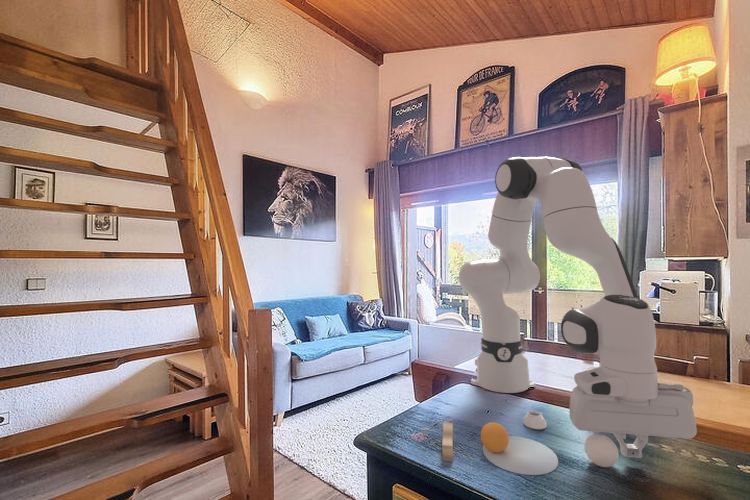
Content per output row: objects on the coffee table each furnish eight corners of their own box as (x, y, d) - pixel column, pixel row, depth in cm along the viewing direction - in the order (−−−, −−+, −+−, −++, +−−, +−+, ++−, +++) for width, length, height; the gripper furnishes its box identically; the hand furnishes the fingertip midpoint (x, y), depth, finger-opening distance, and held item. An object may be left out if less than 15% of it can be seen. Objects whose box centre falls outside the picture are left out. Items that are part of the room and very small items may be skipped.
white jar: (524, 419, 88) (522, 428, 83) (523, 407, 88) (522, 415, 83) (547, 423, 85) (546, 432, 81) (546, 411, 85) (545, 419, 81)
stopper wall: (443, 435, 80) (443, 422, 80) (452, 436, 80) (452, 422, 80) (442, 460, 70) (442, 445, 70) (453, 461, 70) (452, 446, 70)
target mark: (480, 434, 80) (480, 433, 80) (547, 439, 77) (547, 438, 77) (486, 470, 67) (486, 469, 67) (568, 479, 64) (568, 477, 64)
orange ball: (477, 419, 77) (503, 416, 76) (483, 444, 77) (509, 442, 75) (478, 432, 72) (506, 429, 70) (484, 459, 71) (513, 457, 70)
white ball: (613, 432, 70) (600, 454, 71) (586, 423, 70) (574, 446, 71) (630, 454, 64) (616, 478, 66) (601, 445, 64) (588, 469, 66)
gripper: (681, 379, 69) (684, 451, 69) (565, 374, 73) (567, 442, 73) (703, 391, 63) (707, 471, 63) (575, 384, 67) (578, 459, 67)
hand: (631, 455), depth 68 cm, fingers closed
